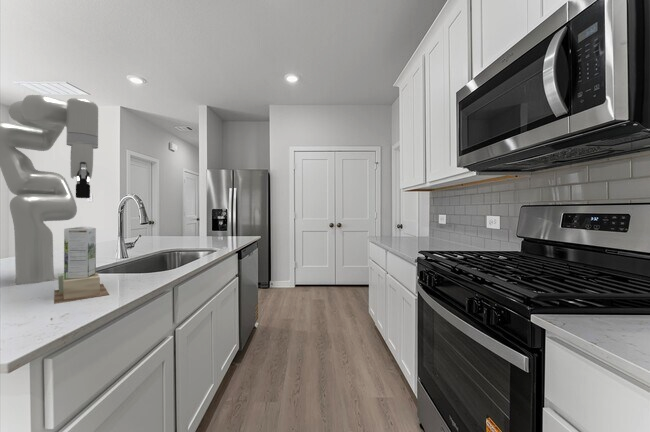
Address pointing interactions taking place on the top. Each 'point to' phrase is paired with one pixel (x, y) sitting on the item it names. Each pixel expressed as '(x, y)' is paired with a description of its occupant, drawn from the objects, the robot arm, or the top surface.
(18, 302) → the top surface
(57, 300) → the board
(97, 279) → the base block
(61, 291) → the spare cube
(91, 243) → the syrup box
